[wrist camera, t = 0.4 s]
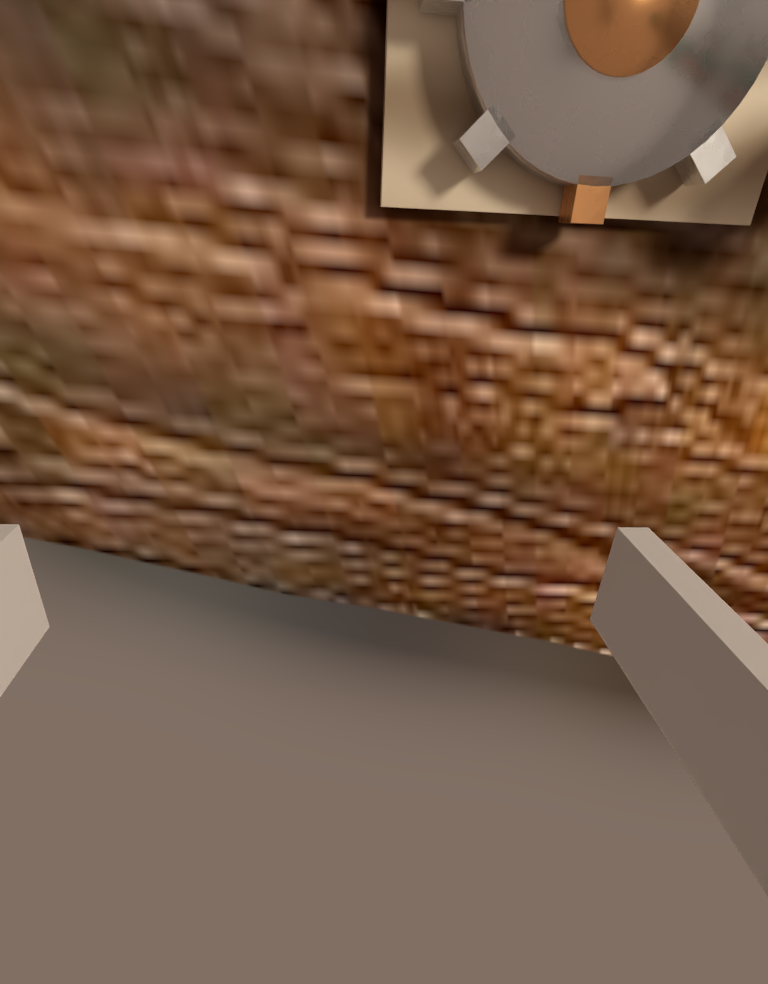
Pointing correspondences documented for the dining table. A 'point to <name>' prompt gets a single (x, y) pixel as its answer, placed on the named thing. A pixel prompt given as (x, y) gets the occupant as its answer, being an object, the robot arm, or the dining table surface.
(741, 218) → the base board
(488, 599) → the dining table surface
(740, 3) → the sprocket
